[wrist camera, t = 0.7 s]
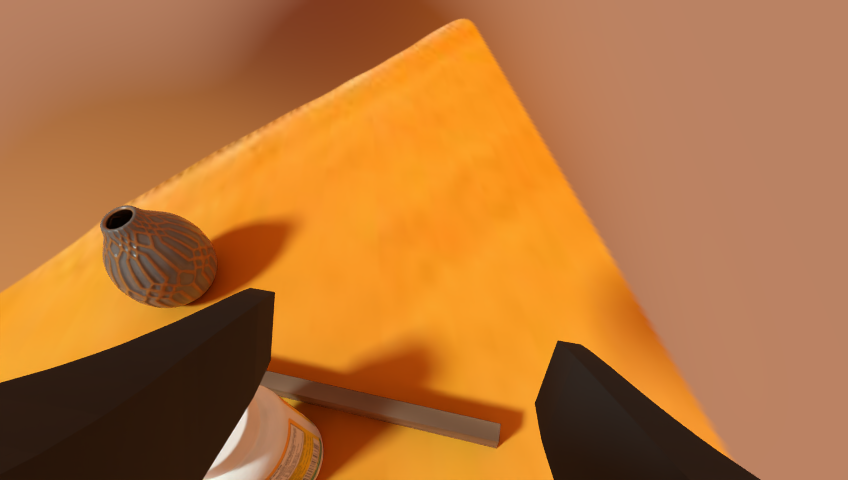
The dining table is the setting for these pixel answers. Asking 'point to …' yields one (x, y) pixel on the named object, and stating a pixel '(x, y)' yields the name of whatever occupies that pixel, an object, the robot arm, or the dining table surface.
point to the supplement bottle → (270, 444)
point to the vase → (157, 256)
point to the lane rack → (384, 409)
